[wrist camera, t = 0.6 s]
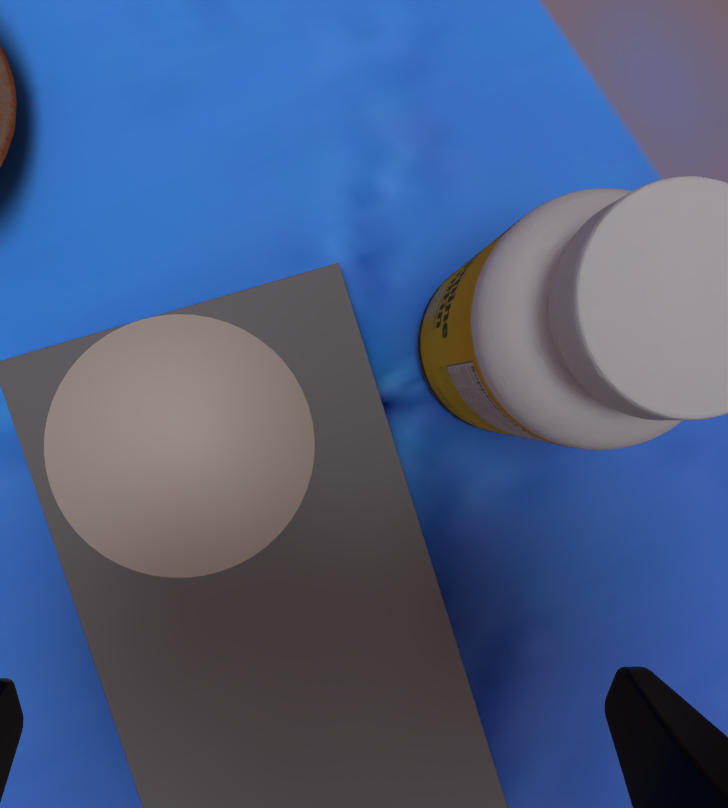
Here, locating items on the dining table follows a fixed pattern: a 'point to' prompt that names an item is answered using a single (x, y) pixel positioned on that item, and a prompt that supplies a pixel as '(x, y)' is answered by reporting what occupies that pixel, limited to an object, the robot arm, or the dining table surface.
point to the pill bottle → (590, 319)
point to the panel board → (251, 558)
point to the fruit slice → (6, 106)
